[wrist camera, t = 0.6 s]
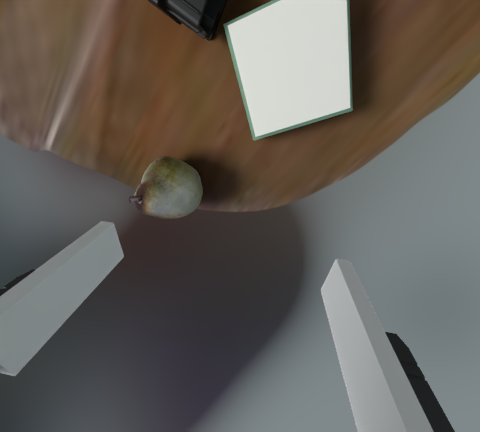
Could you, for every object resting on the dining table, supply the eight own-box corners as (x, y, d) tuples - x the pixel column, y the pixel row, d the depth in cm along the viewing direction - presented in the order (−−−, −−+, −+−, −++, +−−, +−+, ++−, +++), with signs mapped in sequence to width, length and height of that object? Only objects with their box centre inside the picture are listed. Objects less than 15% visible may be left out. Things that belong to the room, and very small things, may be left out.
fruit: (156, 148, 34) (107, 168, 24) (209, 154, 33) (182, 179, 23) (163, 200, 39) (125, 235, 29) (209, 207, 38) (186, 245, 28)
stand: (228, 32, 25) (221, 21, 21) (338, -19, 21) (351, -42, 18) (255, 137, 31) (253, 141, 27) (344, 109, 27) (355, 110, 24)
